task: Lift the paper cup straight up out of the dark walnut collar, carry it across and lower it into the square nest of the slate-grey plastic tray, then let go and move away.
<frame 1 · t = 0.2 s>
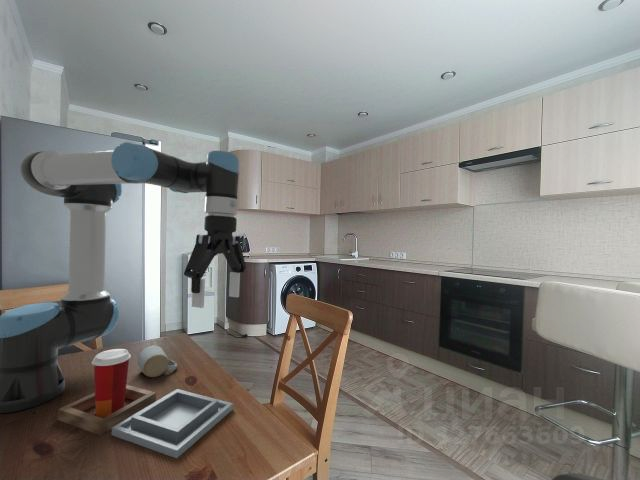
hand: (217, 301, 73), 28 cm above the table, tool pointing down, fingers open, 13 cm apart
grey tray: (176, 421, 69), on the table
walnut collar: (109, 410, 72), on the table
paper cup: (109, 411, 72), resting in walnut collar
ceramic mug: (157, 372, 94), on the table
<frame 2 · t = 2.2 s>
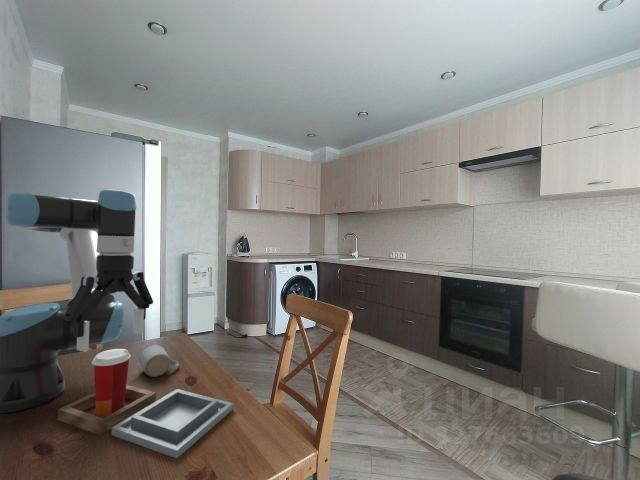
hand: (112, 341, 72), 17 cm above the table, tool pointing down, fingers open, 13 cm apart
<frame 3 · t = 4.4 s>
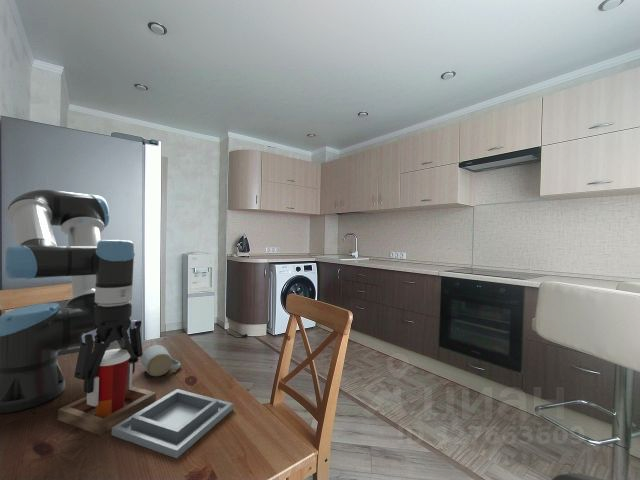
hand: (110, 395, 72), 4 cm above the table, tool pointing down, fingers closed on paper cup, 8 cm apart
paper cup: (109, 411, 72), resting in walnut collar, touching gripper
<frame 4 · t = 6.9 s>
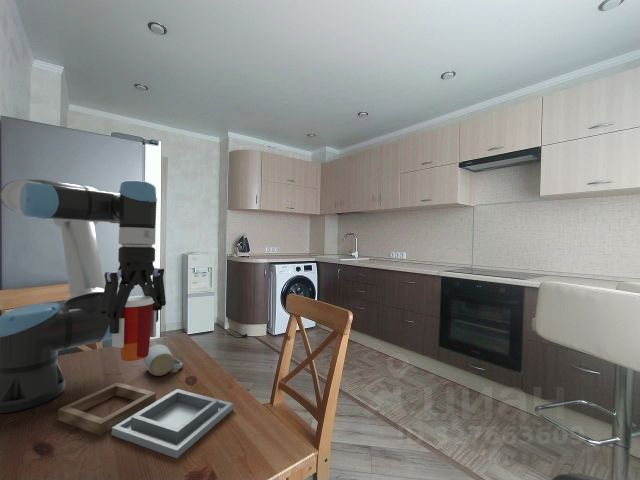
hand: (135, 341, 71), 18 cm above the table, tool pointing down, fingers closed on paper cup, 8 cm apart
paper cup: (134, 357, 71), point 14 cm above the table, touching gripper
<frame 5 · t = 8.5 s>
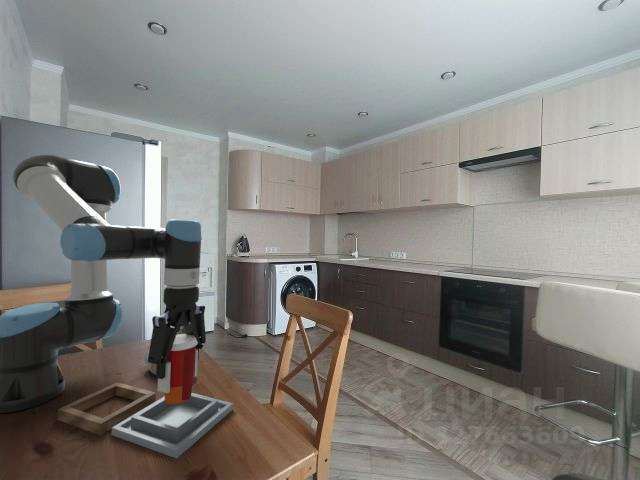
hand: (178, 382, 69), 9 cm above the table, tool pointing down, fingers closed on paper cup, 8 cm apart
paper cup: (177, 399, 69), point 5 cm above the table, touching gripper
when the fingers open (6 cm above the table, at t = 9.6 s): paper cup drops 1 cm, resting on grey tray.
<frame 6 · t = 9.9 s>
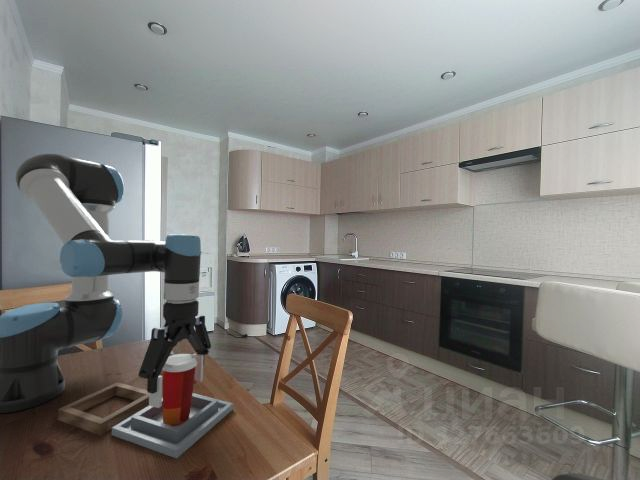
hand: (178, 392, 69), 7 cm above the table, tool pointing down, fingers open, 12 cm apart
paper cup: (175, 419, 69), resting on grey tray
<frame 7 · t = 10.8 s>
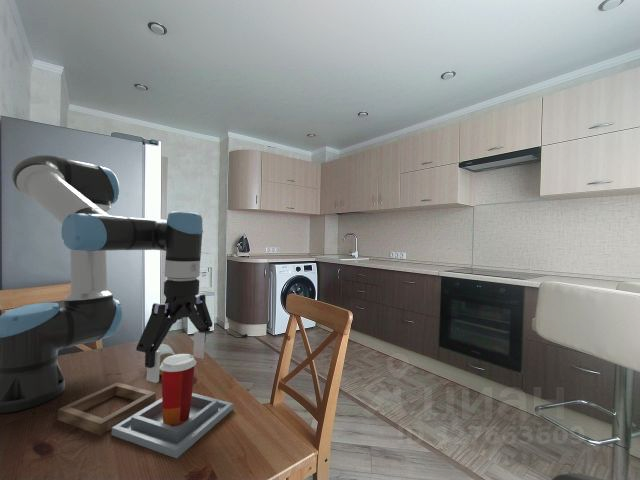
hand: (177, 368, 70), 12 cm above the table, tool pointing down, fingers open, 13 cm apart
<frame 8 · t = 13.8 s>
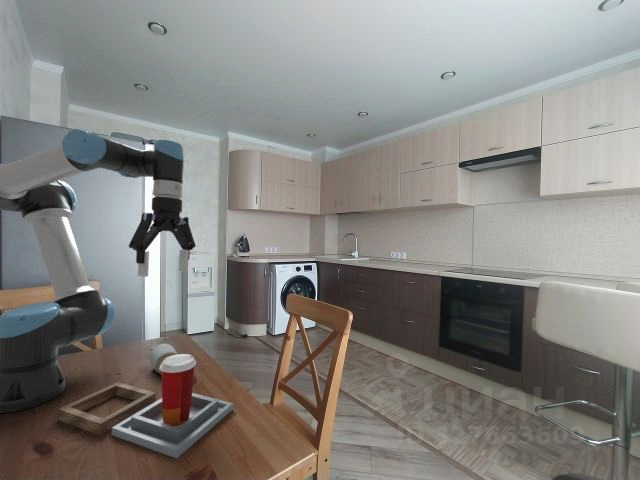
hand: (164, 273, 83), 33 cm above the table, tool pointing down, fingers open, 13 cm apart
at the end: paper cup 0.2 cm off-centre on the grey tray, point 0.4 cm above the grey tray's base; paper cup tilted 0°; the gripper is holding nothing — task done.
